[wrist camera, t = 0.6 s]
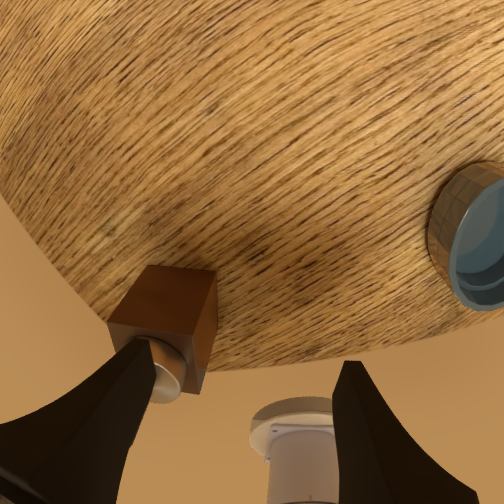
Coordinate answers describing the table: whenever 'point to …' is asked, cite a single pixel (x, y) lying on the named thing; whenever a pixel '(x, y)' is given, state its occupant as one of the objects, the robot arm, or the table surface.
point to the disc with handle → (165, 372)
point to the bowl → (471, 236)
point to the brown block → (171, 316)
